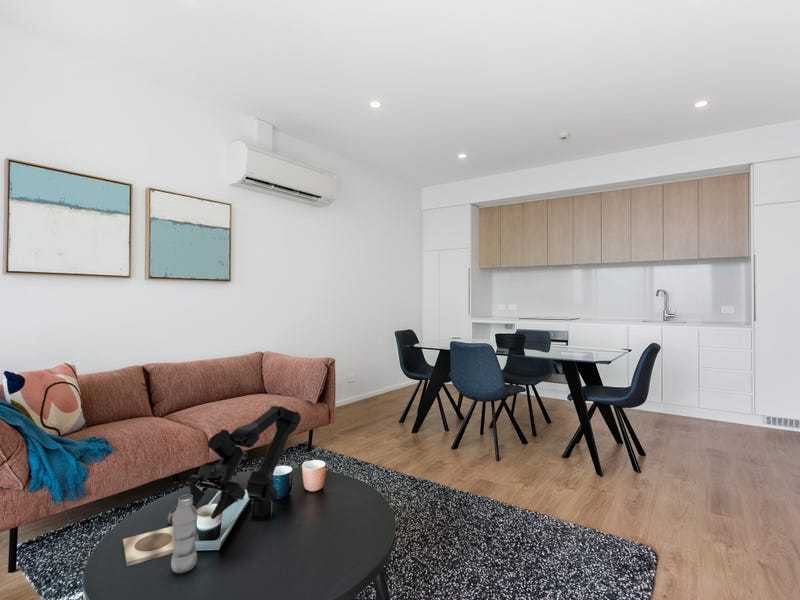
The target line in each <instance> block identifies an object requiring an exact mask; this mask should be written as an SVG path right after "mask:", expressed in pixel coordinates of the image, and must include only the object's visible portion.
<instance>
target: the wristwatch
mask: <svg viewBox="0 0 800 600" xmlns="http://www.w3.org/2000/svg"><path fill="white" fill-rule="evenodd" d="M178 508H179V506H175V507H173V508H172V509H171V510H170V511H169V513H168V515H167V523H168V524H170V525H173V523H172V521H171V520H172V519H171V518H173V515H174V513H175V512H176V510H177V509H178Z"/></svg>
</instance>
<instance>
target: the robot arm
mask: <svg viewBox="0 0 800 600" xmlns="http://www.w3.org/2000/svg"><path fill="white" fill-rule="evenodd" d="M301 418H302V417H301V415H300V413H299V412H298V411H294V410H290V409H288V408H286V407H284V406H280V405H272V406H270V408H269V409H268V410H267V411H265V412H264V413H262V414H261V415H260V416H259V417H257V418H256V419H255V420H253V421H251V422H250V423H247V424H244V425H241V426H239V427H237V428H235V429H234V430H233V431H232V432H231V433H230V432H229V431H228V430H227V429H221V430H220V432H217V433H215V434H214V435H213V436H211V437H210V438H209V440H208V441H207V442H208V443H207V446H208V448H209V449H210V450H211V451H212V452H213V453H214V454H216V455H217V457H218V458H220V460H219V462H215V463H214V464H213V466H212V465H207V464H201V465H200V468H199V471H198V474H192V475H190V476H189V477H188V479H187V480H186V484H187V487H188V488H189V489H190V490H189V491H190V493H189V495H192V496H193V504H192V505H193V506H194V507H195V508H196V507H197V505H198V504H199V503H200V502H201V500H202V499H203V497H204V496H205V495H206V493H205V492H207V490H208V489H209V490H214V491H217V492H220V499H219V500H218V502H217V504H216V506H215V508H214V510H213V511H212V514H211V517H210V519H212V520H214V519H216V518H217V517H219V515H221V514H222V513H223V512H224V511H225V510H226V509H228V508H229V507H230V506H232V505H233V504H235V503H238V502H239V501H242V500H244V497H245V495H246V492H247V497H248V499H249V500H250V499H251V500H252V501H251V503H250V504H251V506H250V517H251V521H262V520H271V519H272V516H273V513H274V509H273V502H274V501H275V499H276V498H277V497H278V490H277V489H276V488H275V486H274V484H275V477H274V472H275V470H276V467H277V465H278V462H279V460H280V458H281V455H282V452H283V450H284V448H285V446H286V443H287V440H288V438H289V436H290V435H291V434H293V433H294V432H295V431H296V430H297V428H298V426H299V424H300V422H301V420H302V419H301ZM274 423H275V428H276V431H275V434H274V435H273V438H272V440H271V442H270V445H269V446H268V450H267V452H266V454H265V457H263V461H262V464H261V466H260V467H259V469H258V470H253V471H252V472H251V474H250V477H248V478H249V479H248V480H247V484H246V488H243V486H242V485H241V484H240V483H238V482H234V481H231V480H232V478H233V477H236V476H237V474H238V473H237V472H236V471H237V469H238V468H239V466H240V463H241V462H242V460H247V459H248V458H249V456H248V453H247V449H250V448H252V447H253V446H254V445H255V444H256V443H257V442H258V441H259V439H260V435H261V434H262V433H264V431H266V430H268V428H270V427H271V426H272V425H273V424H274ZM241 447H242V448H247V449H242V448H241Z"/></svg>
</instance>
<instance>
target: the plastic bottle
mask: <svg viewBox="0 0 800 600" xmlns="http://www.w3.org/2000/svg"><path fill="white" fill-rule="evenodd" d="M177 500H178V503H177V507H179V508H178V509H177V510H176V512H175V513H174V515H173V516H172V517H171V518H172V519H171V522H172V523H173V524H172V526H173V530H174V548H173V553H172V555H171V562H170V565H171V570H172V571H173V573H175V574H183V573H187V572H190V571H191V570H192V569H194V568H195V566H196V563H197V559H198V554H197V553H198V552H197V549H196V528H197V522H198V510H197V509H196V507H194V506H193V505H192V504H193V496H192V495H190V494H183V495H181V496H180V497H178V499H177Z"/></svg>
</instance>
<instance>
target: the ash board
mask: <svg viewBox="0 0 800 600" xmlns="http://www.w3.org/2000/svg"><path fill="white" fill-rule="evenodd" d="M122 545H123V551H124V560H125V565H126V567H130V566H133V565H136V564H140V563H143V562H146V561H151V560H154V559H157V558H160V557H164V556H168V555H171V554H173V548H174V530H173V525H172V526H168V527H163V528H161V529H157V530H152V531H149V532H148V531H147V532H145V533H140V534H137V535H133V536H130V537H126V538H123V539H122Z"/></svg>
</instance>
